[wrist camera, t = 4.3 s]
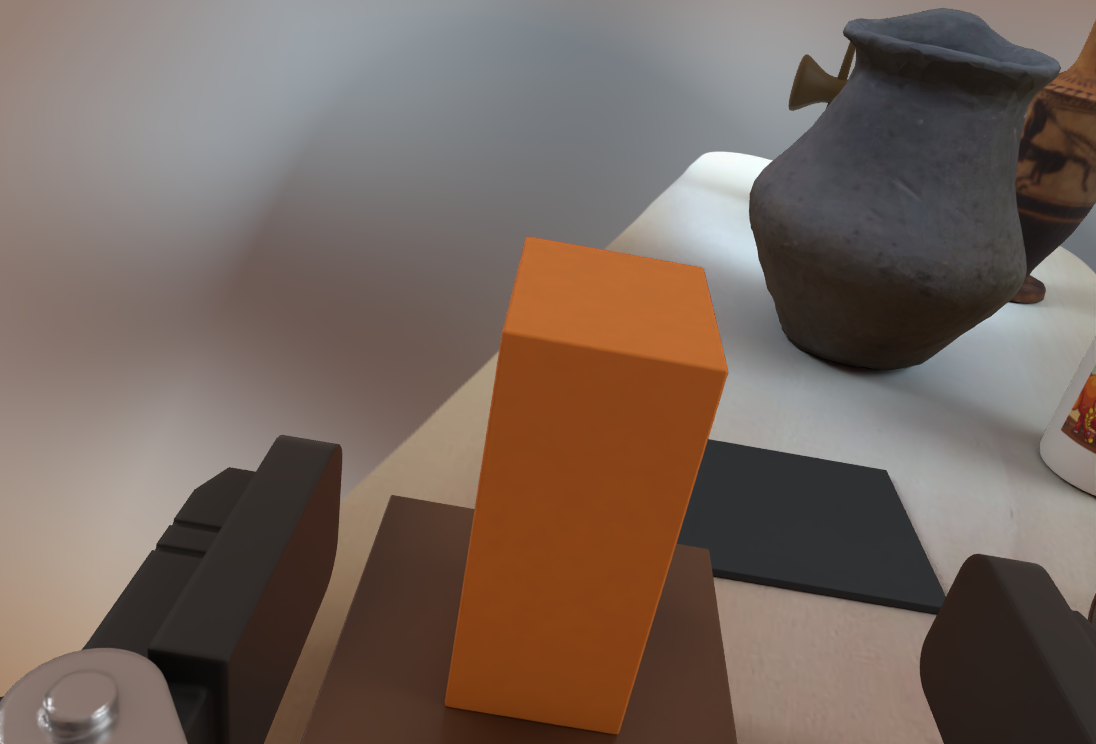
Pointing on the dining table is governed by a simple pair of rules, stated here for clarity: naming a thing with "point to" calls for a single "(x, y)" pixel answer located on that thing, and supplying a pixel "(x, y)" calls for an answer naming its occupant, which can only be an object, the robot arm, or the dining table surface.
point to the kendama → (818, 82)
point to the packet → (583, 481)
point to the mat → (808, 527)
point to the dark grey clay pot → (902, 193)
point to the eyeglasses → (1093, 612)
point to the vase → (1057, 164)
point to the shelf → (428, 638)
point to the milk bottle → (1075, 429)
